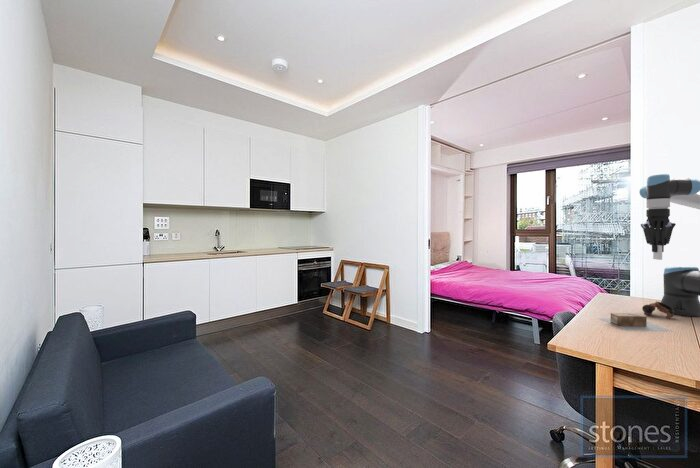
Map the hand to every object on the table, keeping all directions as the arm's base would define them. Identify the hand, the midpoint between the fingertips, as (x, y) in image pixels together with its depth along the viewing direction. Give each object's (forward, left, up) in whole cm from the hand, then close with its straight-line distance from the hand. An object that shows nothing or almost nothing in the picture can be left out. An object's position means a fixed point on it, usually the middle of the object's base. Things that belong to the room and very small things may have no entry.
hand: (657, 259), depth 137 cm
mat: (+17, +9, -28) cm, 34 cm away
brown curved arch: (-4, -5, -29) cm, 29 cm away
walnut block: (+14, +10, -26) cm, 31 cm away
